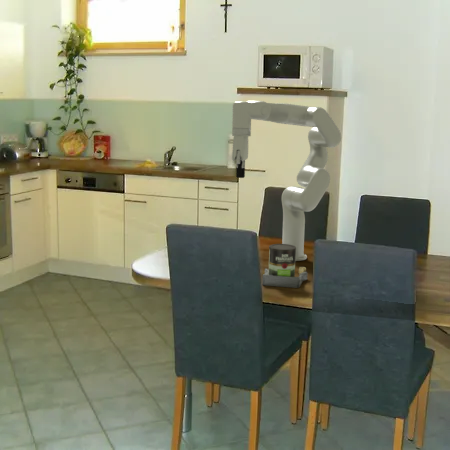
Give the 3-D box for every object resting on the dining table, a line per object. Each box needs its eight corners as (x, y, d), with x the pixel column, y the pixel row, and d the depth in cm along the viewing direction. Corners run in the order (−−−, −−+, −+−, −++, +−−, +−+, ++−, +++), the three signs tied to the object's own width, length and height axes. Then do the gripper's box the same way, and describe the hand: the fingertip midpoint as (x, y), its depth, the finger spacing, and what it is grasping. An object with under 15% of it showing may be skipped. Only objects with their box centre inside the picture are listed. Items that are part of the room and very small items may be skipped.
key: (299, 269, 284) (299, 266, 284) (306, 270, 283) (306, 267, 283) (297, 273, 278) (297, 270, 277) (304, 274, 277) (304, 271, 277)
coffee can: (297, 285, 260) (298, 249, 258) (270, 286, 259) (271, 249, 256) (291, 278, 270) (293, 243, 268) (265, 278, 269) (266, 243, 266)
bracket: (264, 275, 273) (265, 266, 273) (307, 279, 270) (307, 269, 269) (258, 284, 261) (258, 274, 260) (303, 288, 257) (303, 278, 256)
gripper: (236, 131, 286) (235, 175, 289) (228, 133, 271) (227, 179, 275) (254, 131, 284) (253, 175, 288) (246, 133, 270) (245, 180, 273)
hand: (240, 177), depth 281 cm, fingers closed
